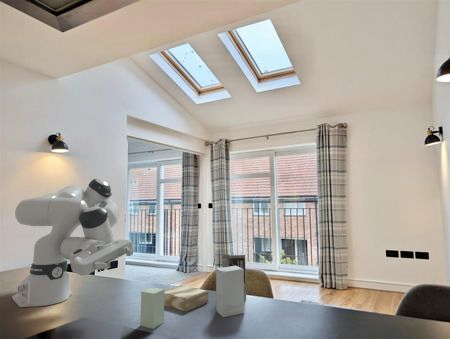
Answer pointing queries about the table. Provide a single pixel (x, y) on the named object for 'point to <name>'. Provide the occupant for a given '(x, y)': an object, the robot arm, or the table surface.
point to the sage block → (152, 307)
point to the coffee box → (236, 261)
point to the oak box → (185, 297)
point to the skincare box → (230, 291)
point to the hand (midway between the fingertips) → (120, 259)
